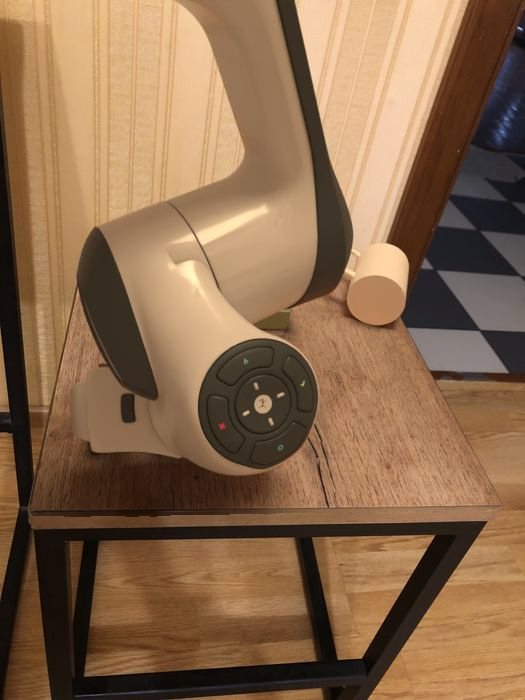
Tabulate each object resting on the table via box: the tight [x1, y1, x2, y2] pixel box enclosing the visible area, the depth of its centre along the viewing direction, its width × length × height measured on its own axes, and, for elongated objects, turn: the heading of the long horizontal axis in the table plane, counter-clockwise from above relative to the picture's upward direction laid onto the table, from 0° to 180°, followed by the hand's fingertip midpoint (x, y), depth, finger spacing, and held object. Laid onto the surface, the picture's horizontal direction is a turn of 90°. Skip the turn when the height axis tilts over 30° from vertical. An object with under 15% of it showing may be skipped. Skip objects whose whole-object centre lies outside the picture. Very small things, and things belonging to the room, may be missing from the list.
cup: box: [343, 242, 410, 326], centre depth 86 cm, size 8×12×10 cm
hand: (175, 401), depth 59 cm, fingers open, 8 cm apart
